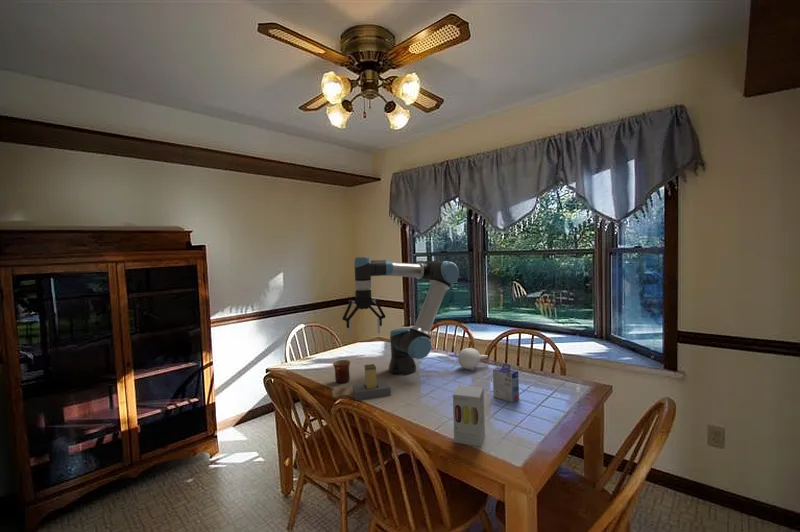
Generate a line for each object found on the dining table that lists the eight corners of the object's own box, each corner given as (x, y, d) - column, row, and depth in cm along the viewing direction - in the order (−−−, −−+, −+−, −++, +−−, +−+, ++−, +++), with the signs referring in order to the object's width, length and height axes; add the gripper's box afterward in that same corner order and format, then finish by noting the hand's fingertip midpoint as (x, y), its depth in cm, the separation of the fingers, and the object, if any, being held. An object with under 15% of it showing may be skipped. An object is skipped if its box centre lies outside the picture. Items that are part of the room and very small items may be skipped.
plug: (375, 391, 170) (374, 363, 170) (377, 394, 166) (375, 366, 165) (365, 392, 169) (364, 365, 168) (367, 396, 165) (365, 368, 164)
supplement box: (453, 442, 123) (451, 394, 122) (459, 429, 131) (457, 384, 131) (482, 447, 119) (480, 397, 119) (485, 433, 128) (484, 386, 127)
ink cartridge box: (520, 399, 155) (518, 365, 154) (513, 403, 151) (511, 369, 151) (500, 393, 162) (498, 361, 162) (492, 396, 159) (491, 364, 158)
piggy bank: (467, 376, 189) (484, 371, 199) (473, 356, 187) (490, 351, 197) (450, 364, 198) (467, 360, 208) (455, 345, 196) (472, 341, 206)
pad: (350, 388, 177) (350, 387, 176) (352, 395, 168) (352, 394, 168) (331, 391, 174) (331, 389, 174) (333, 398, 166) (333, 396, 166)
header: (386, 388, 174) (385, 380, 174) (390, 396, 165) (390, 387, 164) (353, 393, 170) (352, 384, 170) (355, 401, 161) (355, 392, 160)
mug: (337, 378, 191) (336, 359, 190) (353, 379, 189) (352, 360, 188) (329, 387, 179) (327, 367, 178) (345, 388, 177) (344, 367, 177)
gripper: (388, 287, 177) (389, 330, 178) (336, 289, 172) (337, 333, 173) (390, 288, 169) (391, 333, 170) (336, 291, 165) (338, 337, 166)
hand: (364, 333), depth 172 cm, fingers open, 13 cm apart
